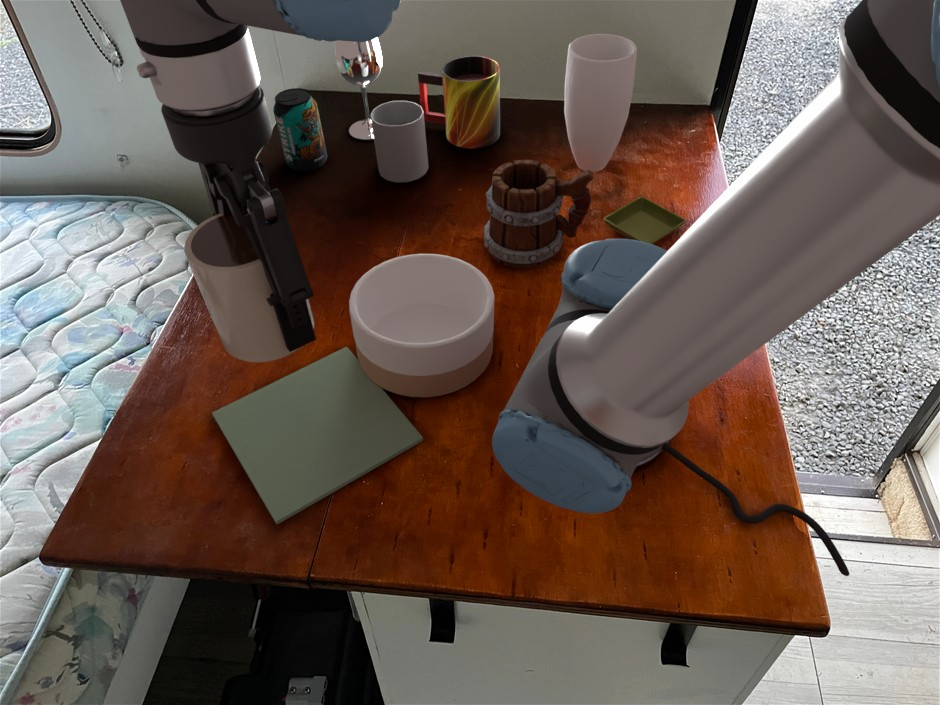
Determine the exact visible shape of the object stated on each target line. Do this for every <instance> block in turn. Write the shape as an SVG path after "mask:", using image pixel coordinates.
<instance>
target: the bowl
mask: <svg viewBox="0 0 940 705" xmlns="http://www.w3.org/2000/svg"><path fill="white" fill-rule="evenodd" d="M348 309H349V318H350V322H351V328H352V335H353V339H354V344H355V349H356V356H357V357H356V358H357V359H358V360H359V363H360V366H361V368H362V369H363V371H364V372H365V374H366V375H367V377H368V378H370V379H371V380H372V381H373V382H374V383H375V384H377V385H378V386H380V387H381V388H382V389H383V390H384V391H388V392H390V393H393V394H396V395H398V396H399V395H400V396H404V397H410V398H432V397H433V398H434V397H440V396H445V395H448V394H451V393H452V394H453V393H455V392H457V391H459V390H461V389H463V388H466V387H467V386H469V385H470V384H472V383H473V382H474V381H476V380H477V379H479V377H480V376H481V375H482V374H483V373H484V372H485V371H486V369H487V367H488V366H489V364H490V362H491V359H492V356H493V352H494V348H493V347H494V332H495V330H494V327H495V293H494V289H493V286H492V284H491V283H490V281H489V279H488V277H486V275H485V274H484V273H483V272H482V271H481V270H480V269H478V268H477V267H476V266H474V265H473V264H471V263H469V262H466V261H464V260H463V259H460V258H457V257H453V256H449V255H444V254H437V253H414V254H413V253H412V254H406V255H401V256H397V257H394V258H391V259H388V260H385V261H383V262H381V263H379V264H377V265H374V266H373V267H372V268H371V269H369V270H368V271H367V272H365V273H364V274H363V275H362V276H361V277H360V278H359V279H358V280H357V281H356V283H355V284H354V286H353V288H352V289H351V292H350V296H349V300H348Z"/></svg>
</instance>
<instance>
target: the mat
mask: <svg viewBox="0 0 940 705" xmlns="http://www.w3.org/2000/svg"><path fill="white" fill-rule="evenodd" d="M211 415H212V417H213V418H214V420H215V422H216V423H217V426H218V427H219V429H220V430H221V432H222V434H223V435H224V437H225V439H226V441H227V442H228V444H229V446H230V448H231V449H232V451H233V452H234V455H235V456H236V458H237V460H238V461H239V463H240V465H241V467H242V468H243V470H244V472H245V474H246V475H247V477H248V479H249V480H250V482H251V483H252V486H253V487H254V489H255V491H256V492H257V494H258V495H259V497H260V499H261V500H262V502H263V504H264V506H265V508H266V509H267V511H268V513H269V514H270V516H271V518H272V520H273V521H274V523H275V525H277V526H278V525H279V524H281V523H282V522H285V521H286V520H288V519H289V518H292V517H293V516H295V515H297V514H298V513H301V512H302V511H303V510H305V509H307V508H308V507H311V506H312V505H314V504H316V503H317V502H319V501H321V500H323V499H325V498H326V497H329V495H332V494H334V493H335V492H337V491H338V490H340V489H342V488H344V487H346V486H348V485H349V484H351V483H352V482H354V481H356V480H358V479H359V478H362V477H363V476H364V475H367V474H368V473H370V472H371V471H373V470H376V468H378V467H380V466H382V465H384V464H385V463H387V462H388V461H391V460H392V459H394V458H396V457H398V456H399V455H401V454H403V453H404V452H406V451H408V450H410V449H412V448H413V447H415V446H417V445H418V444H421V443H422V442H423V441H424V437H423V435H421V433H420V432H419V431H418V429H417V428H416V427H415V426H414V425H413V423H412V422H411V421H410V420H409V419H408V417H407V416H406V415H405V414H404V413H403V412H402V411H401V409H400V408H399V407H398V406H397V404H396V403H395V402H394V401H393V400H392V398H391V397H390V396H389V395H388V394H387V392H386V390H385V389H384V388H382V387H380V386H378V385H377V384H375V383H374V382H373V381H372V380H371V379H370V378H368V377H367V375H366V374H365V372H364V371H363V369H362V368H361V366H360V363H359V360H358V357H356V355H355V354H354V353H353V352H352V351H351V349H350V348H349V347H348V346H345V347H343V348H340V349H339V350H336V351H335V352H332V353H330V354H328V355H326V356H324V357H322V358H320V359H318V360H316V361H314V362H312V363H310V364H308V365H306V366H304V367H302V368H300V369H298V370H296V371H294V372H292V373H290V374H288V375H286V376H283V377H281V378H280V379H277V380H275V381H273V382H271V383H269V384H267V385H265V386H263V387H261V388H259V389H257V390H255V391H253V392H251V393H249V394H247V395H245V396H242V397H241V398H239V399H237V400H235V401H233V402H231V403H228V404H226V405H225V406H223V407H220V408H218V409H217V410H214V411H212V412H211Z"/></svg>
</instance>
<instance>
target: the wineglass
mask: <svg viewBox="0 0 940 705" xmlns="http://www.w3.org/2000/svg"><path fill="white" fill-rule="evenodd" d="M334 58H335V64H336V67H337V70H338V72H339V74H340V76H341V77H342V78H343V79H344V80H345V81H346V82H347V83H350V84H351V85H354V86H357V87H359V89H360V91H361V92H360V93H361V95H362V100H363V106H364V113H365V118H364V119H360V120H357V121H356V122H354V123H352V124H351V125H350V127H349V128H348V133H349V135H350V136H351V137H352V138H354V139H356V140H360V141H374V135H373V128H372V122H371V115H370V109H369V101H368V94H367V92H368V91H367V88H368V86H369V85H371V84H372V83H373V82H375V81H376V80H377V78H378V77H379V76H380V73H381V71H382V68H383V55H382V49H381V44H380V42H379V37H377V38H376V39H373V40H370V41H367V42H354V41H340V40H337V41H334Z"/></svg>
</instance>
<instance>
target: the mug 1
mask: <svg viewBox="0 0 940 705" xmlns="http://www.w3.org/2000/svg"><path fill="white" fill-rule="evenodd" d="M500 69H501V66H500V64H499V62H497V61H496V60H495V59H492V58H490V57H486V56H480V55H466V56H459V57H456V58H453V59H451V60H449V61H447V62H446V63H444V64H443V66H442V68H441V73H436V72H435V73H434V72H427V71H419V72H418V73H417V81H418V91H419V106H421V107H422V109H423V112H424V122H425V123H433V124H439V125H445V136H446V140H447V141H448V142H449V143H450V144H451V145H454V146H456V147H459V148H463V149H480V148H484V147H488V146H491V145H492V144H494V143H496V142H497V141H498V140H499V139H500V136H501V72H500V71H501V70H500ZM427 85H432V86H439V87H442V89H443V90H442V92H443V104H444V105H443V106H444V113H440V112H435V111H429V103H428V89H427Z"/></svg>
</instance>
